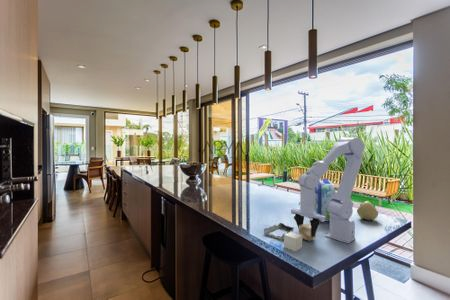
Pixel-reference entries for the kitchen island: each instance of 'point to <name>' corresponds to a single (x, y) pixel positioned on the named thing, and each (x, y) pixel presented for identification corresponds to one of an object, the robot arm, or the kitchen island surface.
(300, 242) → the cream cube
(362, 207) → the tan lumpy ball
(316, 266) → the kitchen island surface
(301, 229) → the oak cube
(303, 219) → the robot arm
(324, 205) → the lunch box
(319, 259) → the kitchen island surface
